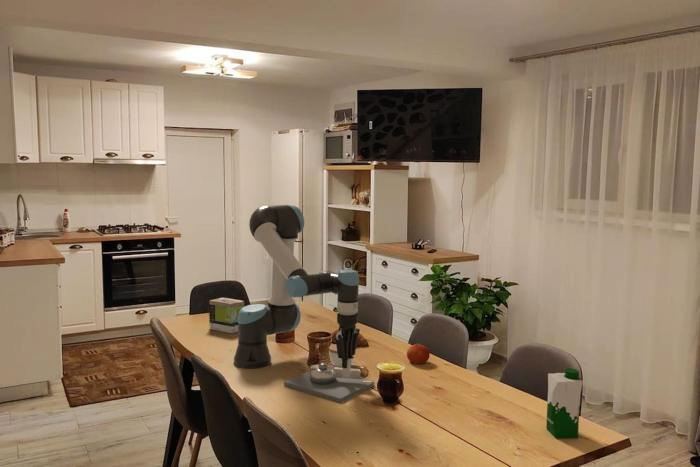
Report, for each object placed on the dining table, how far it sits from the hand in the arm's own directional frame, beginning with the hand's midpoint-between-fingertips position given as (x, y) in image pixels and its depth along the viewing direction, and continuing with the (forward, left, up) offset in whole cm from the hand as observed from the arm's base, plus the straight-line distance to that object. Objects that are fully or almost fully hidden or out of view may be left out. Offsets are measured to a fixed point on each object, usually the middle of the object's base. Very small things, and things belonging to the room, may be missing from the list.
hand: (346, 375), depth 219 cm
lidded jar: (-16, +19, -5) cm, 25 cm away
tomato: (+6, +43, -5) cm, 44 cm away
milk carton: (+75, +11, -5) cm, 76 cm away
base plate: (-6, -2, -5) cm, 8 cm away
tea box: (-93, +27, -5) cm, 97 cm away
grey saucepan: (-4, 0, -3) cm, 5 cm away
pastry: (-34, +47, -5) cm, 58 cm away
